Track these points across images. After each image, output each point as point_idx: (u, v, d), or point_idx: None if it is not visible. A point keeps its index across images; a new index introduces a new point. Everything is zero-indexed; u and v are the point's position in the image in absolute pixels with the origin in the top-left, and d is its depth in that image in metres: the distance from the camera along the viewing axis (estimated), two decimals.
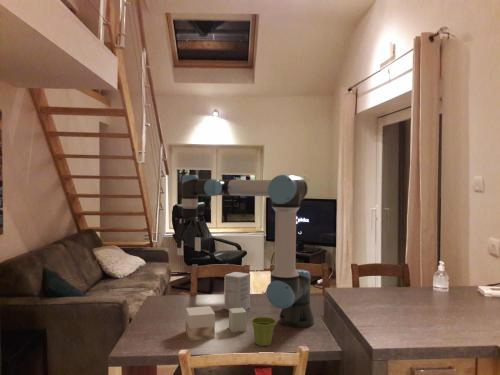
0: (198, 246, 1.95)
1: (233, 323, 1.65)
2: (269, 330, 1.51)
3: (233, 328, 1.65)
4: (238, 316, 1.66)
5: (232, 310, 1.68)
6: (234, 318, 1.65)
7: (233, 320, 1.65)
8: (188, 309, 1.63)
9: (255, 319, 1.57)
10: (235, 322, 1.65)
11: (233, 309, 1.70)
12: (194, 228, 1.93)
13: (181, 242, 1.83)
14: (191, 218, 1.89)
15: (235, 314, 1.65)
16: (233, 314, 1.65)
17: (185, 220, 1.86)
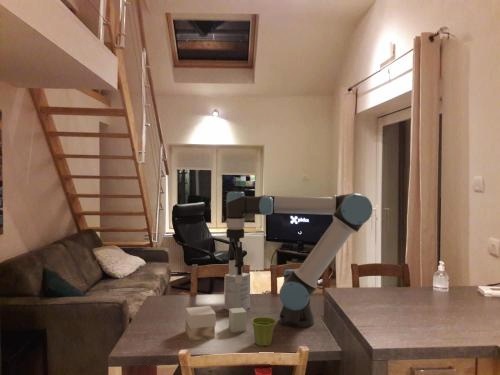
0: (233, 270, 1.76)
1: (233, 323, 1.65)
2: (269, 330, 1.51)
3: (233, 328, 1.65)
4: (238, 316, 1.65)
5: (232, 310, 1.68)
6: (234, 318, 1.65)
7: (233, 320, 1.65)
8: (188, 309, 1.63)
9: (255, 319, 1.57)
10: (235, 322, 1.65)
11: (233, 309, 1.70)
12: None
13: (241, 268, 1.63)
14: None
15: (235, 314, 1.65)
16: (233, 314, 1.65)
17: None
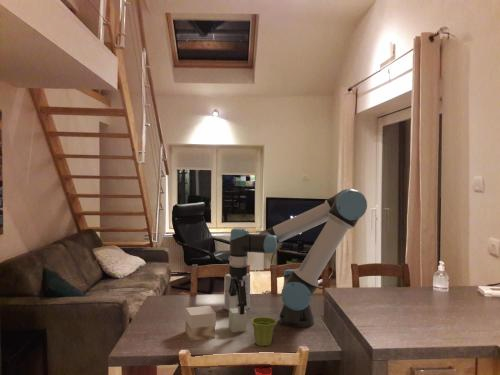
0: (234, 306, 1.75)
1: (233, 323, 1.65)
2: (269, 330, 1.51)
3: (233, 328, 1.65)
4: None
5: (232, 310, 1.68)
6: (234, 318, 1.65)
7: (233, 320, 1.65)
8: (188, 309, 1.63)
9: (255, 319, 1.57)
10: (235, 322, 1.65)
11: (233, 309, 1.70)
12: None
13: (244, 307, 1.62)
14: None
15: (235, 314, 1.65)
16: (233, 314, 1.65)
17: (242, 281, 1.65)
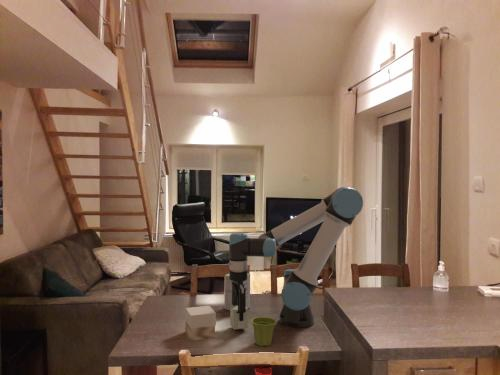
0: None
1: (234, 320, 1.65)
2: (269, 330, 1.51)
3: (234, 325, 1.65)
4: None
5: (233, 307, 1.68)
6: (235, 315, 1.65)
7: (234, 317, 1.65)
8: (188, 309, 1.63)
9: (255, 319, 1.57)
10: (236, 319, 1.65)
11: (234, 306, 1.70)
12: (238, 294, 1.70)
13: (243, 314, 1.65)
14: None
15: (236, 311, 1.65)
16: (234, 310, 1.65)
17: (242, 286, 1.65)
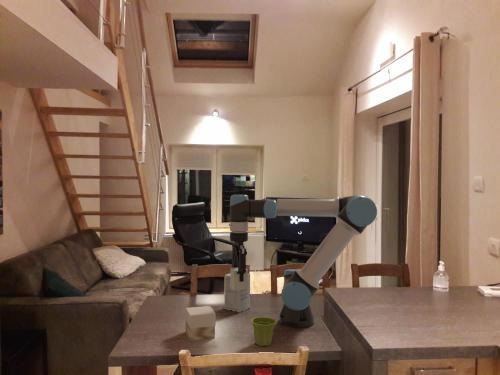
0: None
1: (234, 281, 1.65)
2: (269, 330, 1.51)
3: (234, 286, 1.65)
4: None
5: (233, 268, 1.68)
6: (235, 276, 1.65)
7: (234, 278, 1.65)
8: (188, 309, 1.63)
9: (255, 319, 1.57)
10: (236, 280, 1.65)
11: (234, 268, 1.69)
12: None
13: (243, 274, 1.65)
14: None
15: (236, 272, 1.65)
16: (234, 271, 1.65)
17: (243, 247, 1.65)
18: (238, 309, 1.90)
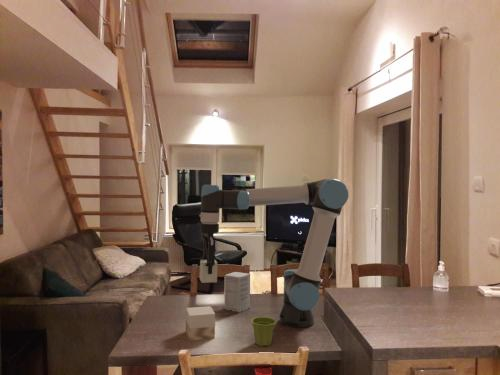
0: None
1: (203, 273, 1.60)
2: (269, 330, 1.51)
3: (203, 278, 1.60)
4: None
5: (203, 260, 1.63)
6: (204, 268, 1.60)
7: (203, 270, 1.60)
8: (188, 309, 1.63)
9: (255, 319, 1.57)
10: (205, 272, 1.60)
11: (204, 260, 1.64)
12: None
13: (212, 267, 1.60)
14: None
15: None
16: (203, 263, 1.60)
17: (212, 239, 1.59)
18: (238, 309, 1.90)
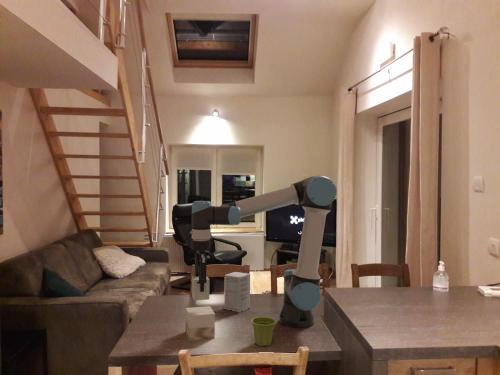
0: None
1: (195, 291, 1.58)
2: (269, 330, 1.51)
3: (195, 296, 1.58)
4: None
5: (195, 278, 1.61)
6: (196, 285, 1.58)
7: (195, 287, 1.58)
8: (188, 309, 1.63)
9: (255, 319, 1.57)
10: (197, 290, 1.58)
11: (196, 277, 1.63)
12: None
13: (204, 284, 1.58)
14: None
15: (197, 281, 1.58)
16: (195, 281, 1.58)
17: (204, 256, 1.58)
18: (238, 309, 1.90)
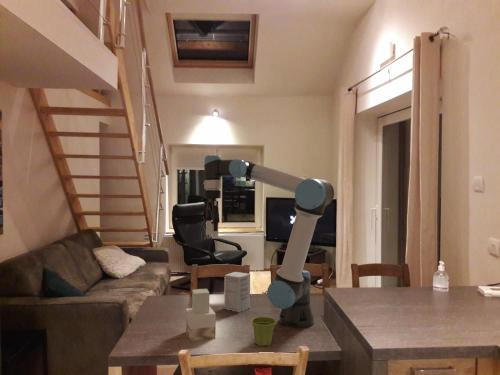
0: (210, 229, 1.89)
1: (195, 304, 1.58)
2: (269, 330, 1.51)
3: (195, 309, 1.58)
4: (200, 297, 1.58)
5: (195, 291, 1.61)
6: (196, 299, 1.58)
7: (195, 301, 1.58)
8: (188, 310, 1.63)
9: (255, 319, 1.57)
10: (197, 303, 1.58)
11: (196, 290, 1.62)
12: (211, 211, 1.86)
13: (217, 225, 1.76)
14: None
15: (197, 295, 1.58)
16: (195, 294, 1.58)
17: None
18: (238, 309, 1.90)
